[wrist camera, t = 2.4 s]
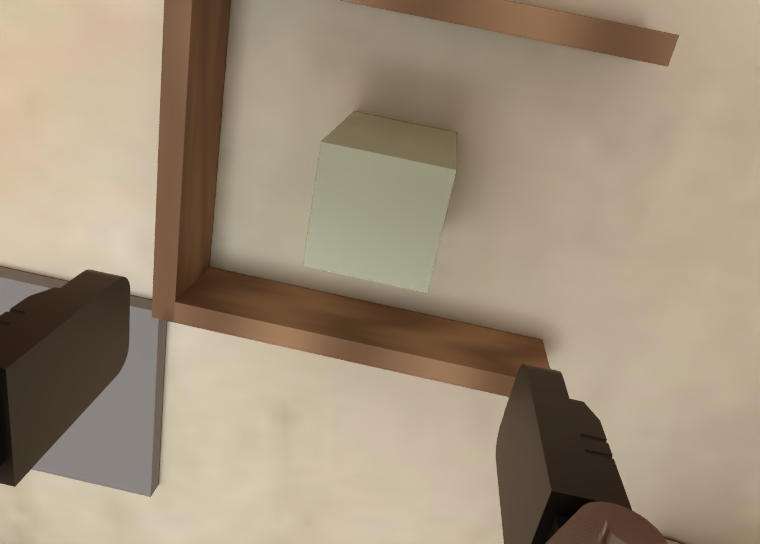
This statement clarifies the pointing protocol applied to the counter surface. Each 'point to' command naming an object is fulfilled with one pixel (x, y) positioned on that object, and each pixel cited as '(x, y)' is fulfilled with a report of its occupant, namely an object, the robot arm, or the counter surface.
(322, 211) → the sage block
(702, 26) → the counter surface
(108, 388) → the slate mat
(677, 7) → the counter surface
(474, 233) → the counter surface
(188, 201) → the wooden u-shaped frame
